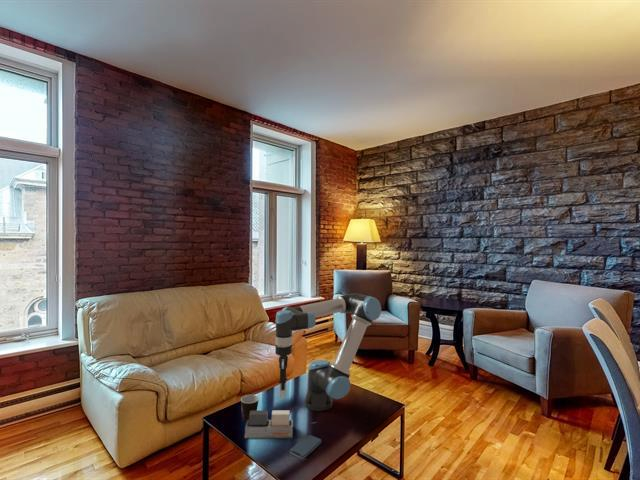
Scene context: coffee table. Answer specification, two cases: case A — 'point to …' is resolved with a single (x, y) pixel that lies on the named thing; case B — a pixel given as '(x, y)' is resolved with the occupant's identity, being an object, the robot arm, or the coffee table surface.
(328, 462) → the coffee table surface
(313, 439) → the smartphone
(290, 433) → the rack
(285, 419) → the beige rectangular block
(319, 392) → the robot arm
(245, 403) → the coffee mug
